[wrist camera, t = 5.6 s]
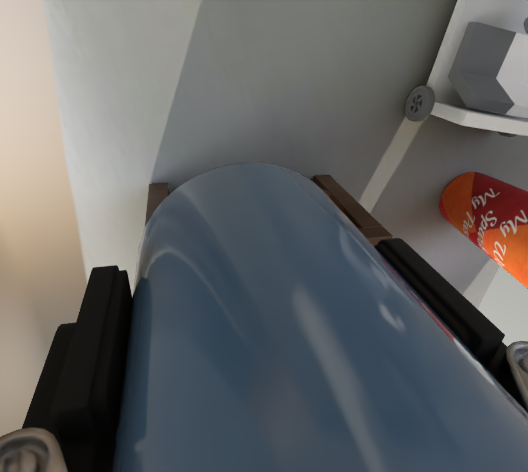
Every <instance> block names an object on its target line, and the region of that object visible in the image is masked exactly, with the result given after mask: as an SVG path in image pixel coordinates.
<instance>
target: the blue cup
mask: <svg viewBox="0 0 528 472" xmlns="http://www.w3.org/2000/svg"><path fill="white" fill-rule="evenodd" d="M111 472H528V413H527V412H526V411H525V410H524V409H523V407H522V406H521V405H520V404H519V403H518V402H517V401H516V400H515V399H514V398H513V397H512V396H511V394H510V393H509V392H508V391H507V390H506V389H505V388H504V387H503V386H502V385H501V384H500V382H499V381H498V380H497V379H496V378H495V377H494V376H493V375H492V374H491V373H490V372H489V371H488V369H487V368H486V367H485V366H484V365H483V364H482V363H481V362H480V361H479V360H478V359H477V357H476V356H475V355H474V354H473V353H472V352H471V351H470V350H469V349H468V348H467V347H466V345H465V344H464V343H463V342H462V341H461V340H460V339H459V338H458V337H457V336H456V335H455V334H454V332H453V331H452V330H451V329H450V328H449V327H448V326H447V325H446V324H445V323H444V322H443V320H442V319H441V318H440V317H439V316H438V315H437V314H436V313H435V312H434V311H433V310H432V309H431V307H430V306H429V305H428V304H427V303H426V302H425V301H424V300H423V299H422V298H421V297H420V295H419V294H418V293H417V292H416V291H415V290H414V289H413V288H412V287H411V286H410V285H409V284H408V282H407V281H406V280H405V279H404V278H403V277H402V276H401V275H400V274H399V273H398V272H397V270H396V269H395V268H394V267H393V266H392V265H391V264H390V263H389V262H388V261H387V260H386V259H385V257H384V256H383V255H382V254H381V253H380V252H379V251H378V250H377V249H376V248H375V247H374V245H373V244H372V243H371V242H370V241H369V240H368V239H367V238H366V237H365V236H364V235H363V234H362V232H361V231H360V230H359V229H358V228H357V227H356V226H355V225H354V224H353V223H352V222H351V220H350V219H349V218H348V217H347V216H346V215H345V214H344V213H343V212H342V211H341V210H340V209H339V207H338V206H337V205H336V204H335V203H334V202H333V201H332V200H331V199H330V198H329V197H328V195H327V194H326V193H325V192H324V191H323V190H322V189H321V188H320V187H318V186H317V185H316V184H315V183H314V182H313V181H311V180H310V179H308V178H307V177H305V176H303V175H302V174H299V173H297V172H295V171H293V170H291V169H288V168H284V167H281V166H277V165H271V164H265V163H241V164H231V165H227V166H223V167H219V168H215V169H213V170H210V171H207V172H205V173H202V174H200V175H198V176H196V177H194V178H192V179H190V180H188V181H187V182H185V183H184V184H182V185H181V186H180V187H178V188H177V189H175V190H174V191H173V192H172V193H171V194H170V195H169V196H167V197H166V198H165V199H164V200H163V201H162V203H161V204H160V205H159V206H158V207H157V209H156V210H155V211H154V212H153V214H152V216H151V217H150V219H149V221H148V222H147V224H146V227H145V229H144V231H143V234H142V236H141V240H140V244H139V248H138V256H137V264H136V272H135V281H134V289H133V297H132V305H131V314H130V322H129V330H128V338H127V346H126V355H125V363H124V371H123V379H122V388H121V396H120V404H119V412H118V421H117V429H116V437H115V445H114V454H113V462H112V470H111Z"/></svg>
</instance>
